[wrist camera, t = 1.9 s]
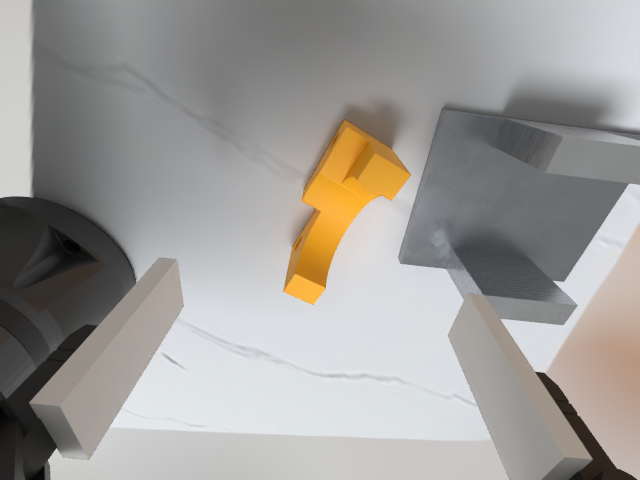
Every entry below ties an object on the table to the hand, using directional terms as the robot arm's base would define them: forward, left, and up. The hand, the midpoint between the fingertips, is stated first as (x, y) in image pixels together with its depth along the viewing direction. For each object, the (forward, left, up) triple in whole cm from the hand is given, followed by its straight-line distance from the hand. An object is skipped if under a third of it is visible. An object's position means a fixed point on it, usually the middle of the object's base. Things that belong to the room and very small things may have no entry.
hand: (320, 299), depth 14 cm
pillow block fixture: (+15, +1, -13) cm, 20 cm away
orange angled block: (0, 0, -14) cm, 14 cm away
